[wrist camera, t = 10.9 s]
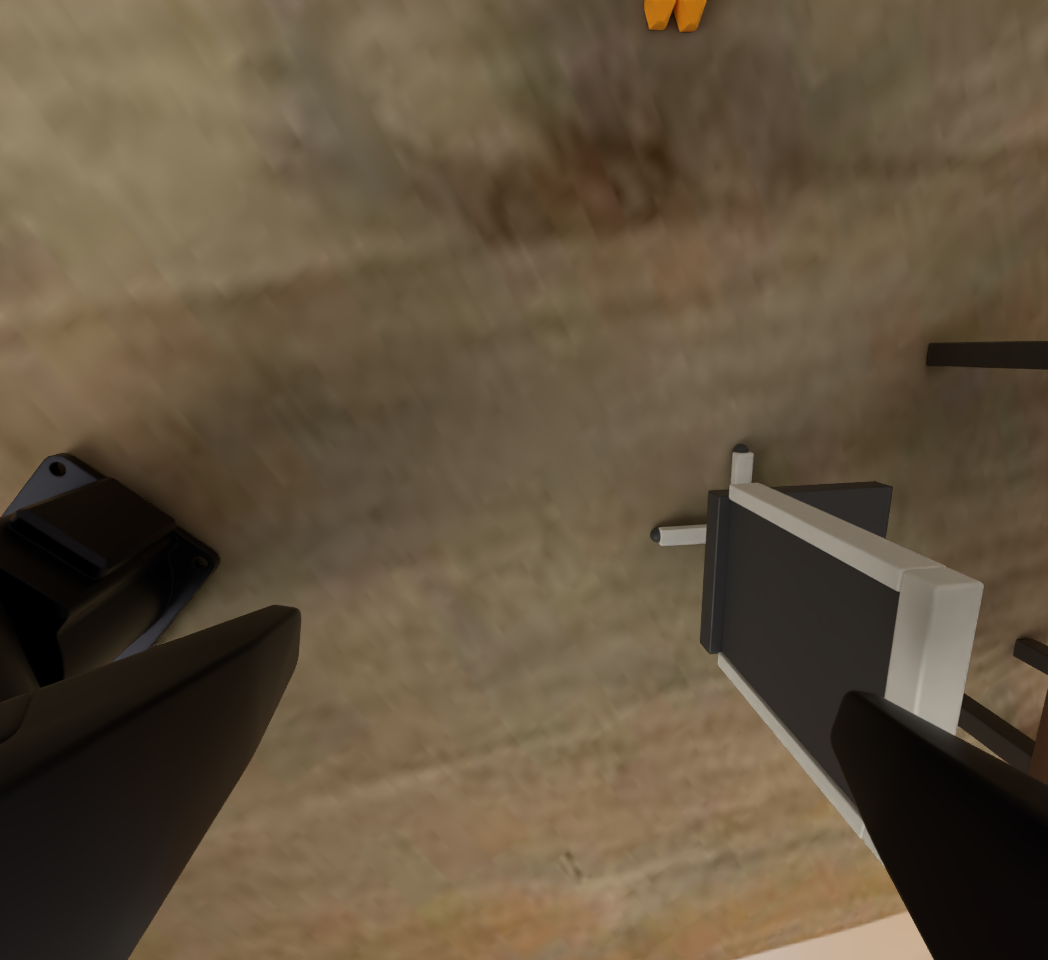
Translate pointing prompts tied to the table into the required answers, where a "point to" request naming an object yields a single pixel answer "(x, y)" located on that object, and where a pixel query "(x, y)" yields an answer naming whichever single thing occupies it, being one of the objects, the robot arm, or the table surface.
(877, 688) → the white black boxy frame
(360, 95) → the table surface
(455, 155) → the table surface
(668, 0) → the toy figure
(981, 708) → the desk
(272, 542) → the table surface
